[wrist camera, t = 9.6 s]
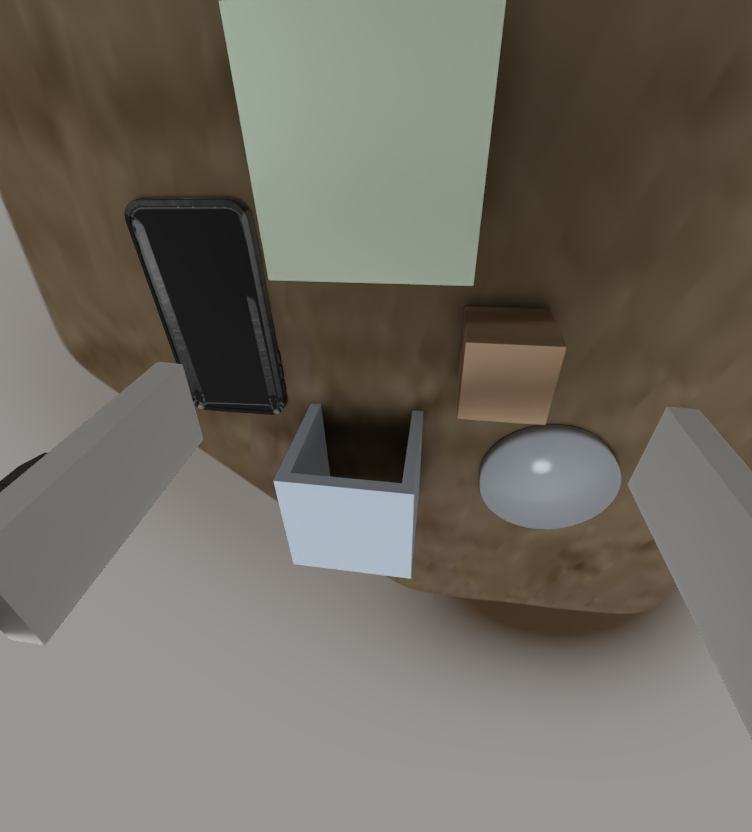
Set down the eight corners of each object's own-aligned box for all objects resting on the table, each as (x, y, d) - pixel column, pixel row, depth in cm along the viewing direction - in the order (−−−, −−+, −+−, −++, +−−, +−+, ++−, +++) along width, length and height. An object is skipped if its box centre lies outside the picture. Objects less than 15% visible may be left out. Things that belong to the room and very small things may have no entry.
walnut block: (464, 305, 26) (465, 342, 22) (549, 308, 25) (566, 347, 21) (457, 375, 29) (457, 418, 25) (533, 379, 28) (545, 425, 24)
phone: (192, 409, 33) (117, 200, 24) (199, 401, 34) (129, 197, 25) (287, 415, 32) (245, 199, 23) (292, 407, 33) (253, 196, 24)
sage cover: (299, 34, 19) (218, 0, 13) (490, 23, 18) (508, -19, 12) (319, 232, 25) (268, 280, 18) (468, 233, 23) (473, 286, 17)
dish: (487, 419, 31) (489, 429, 30) (635, 429, 29) (641, 441, 28) (472, 511, 37) (473, 522, 36) (594, 523, 35) (598, 535, 34)
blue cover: (310, 403, 32) (273, 480, 26) (423, 411, 31) (414, 494, 24) (322, 482, 37) (293, 563, 31) (419, 491, 36) (410, 578, 30)
